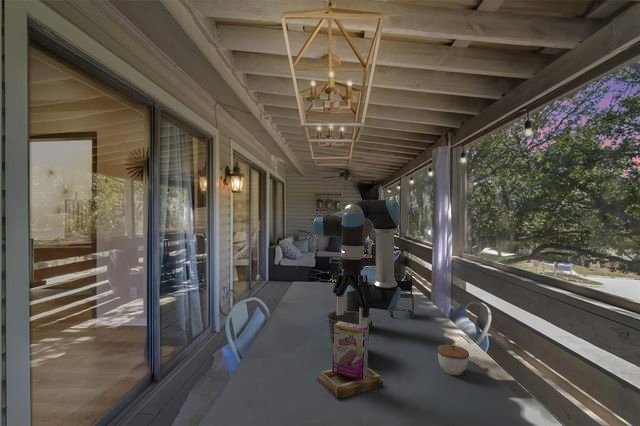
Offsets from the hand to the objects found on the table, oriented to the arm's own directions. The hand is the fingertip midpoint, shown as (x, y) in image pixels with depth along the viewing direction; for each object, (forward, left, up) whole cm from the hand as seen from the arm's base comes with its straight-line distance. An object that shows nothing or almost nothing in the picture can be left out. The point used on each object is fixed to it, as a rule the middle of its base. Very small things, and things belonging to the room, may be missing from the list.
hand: (351, 320), depth 110 cm
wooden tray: (0, 0, -21) cm, 21 cm away
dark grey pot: (-13, -20, -21) cm, 32 cm away
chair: (-71, -51, -21) cm, 90 cm away
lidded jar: (-39, +10, -21) cm, 45 cm away
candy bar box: (0, 0, -18) cm, 18 cm away
